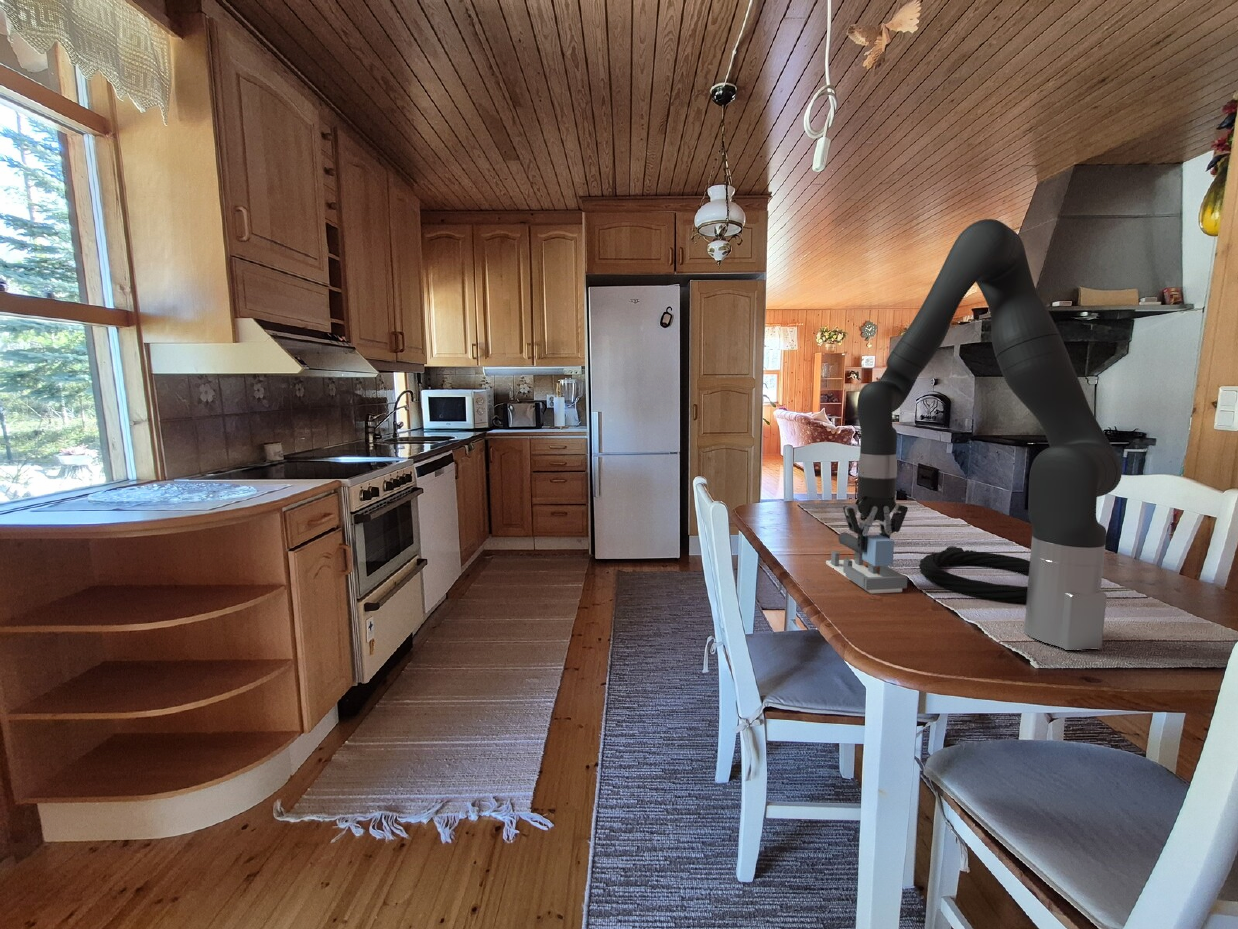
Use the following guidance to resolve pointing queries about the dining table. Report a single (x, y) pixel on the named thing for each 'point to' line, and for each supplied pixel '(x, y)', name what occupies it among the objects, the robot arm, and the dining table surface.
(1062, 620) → the robot arm
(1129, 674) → the dining table surface
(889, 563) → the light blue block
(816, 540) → the dining table surface
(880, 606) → the dining table surface
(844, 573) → the rail
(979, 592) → the cable lock
